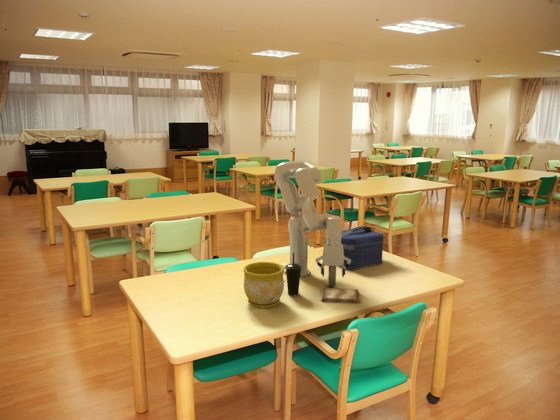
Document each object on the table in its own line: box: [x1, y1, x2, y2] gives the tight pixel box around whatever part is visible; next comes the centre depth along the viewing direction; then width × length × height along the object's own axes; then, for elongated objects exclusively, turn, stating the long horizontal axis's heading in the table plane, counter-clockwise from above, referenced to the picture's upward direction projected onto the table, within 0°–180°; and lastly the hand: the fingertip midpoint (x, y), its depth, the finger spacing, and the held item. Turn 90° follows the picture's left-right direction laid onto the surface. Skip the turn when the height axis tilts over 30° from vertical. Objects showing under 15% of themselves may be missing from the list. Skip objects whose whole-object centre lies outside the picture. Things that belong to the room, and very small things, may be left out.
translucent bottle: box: [327, 266, 337, 288], centre depth 215 cm, size 4×4×13 cm
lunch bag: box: [340, 225, 384, 270], centre depth 252 cm, size 31×21×20 cm
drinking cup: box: [285, 253, 302, 297], centre depth 205 cm, size 8×8×20 cm
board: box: [321, 287, 361, 304], centre depth 204 cm, size 17×14×2 cm
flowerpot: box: [242, 261, 285, 309], centre depth 195 cm, size 18×18×16 cm
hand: (333, 275), depth 215 cm, fingers open, 9 cm apart
